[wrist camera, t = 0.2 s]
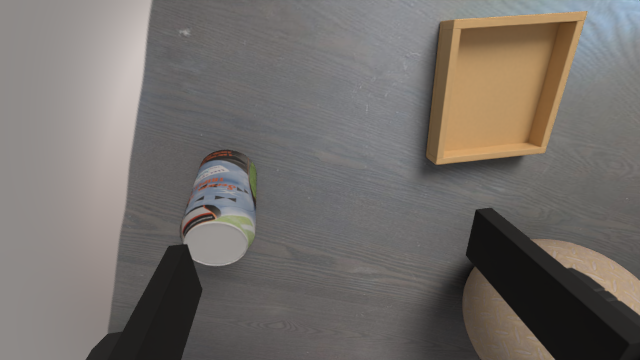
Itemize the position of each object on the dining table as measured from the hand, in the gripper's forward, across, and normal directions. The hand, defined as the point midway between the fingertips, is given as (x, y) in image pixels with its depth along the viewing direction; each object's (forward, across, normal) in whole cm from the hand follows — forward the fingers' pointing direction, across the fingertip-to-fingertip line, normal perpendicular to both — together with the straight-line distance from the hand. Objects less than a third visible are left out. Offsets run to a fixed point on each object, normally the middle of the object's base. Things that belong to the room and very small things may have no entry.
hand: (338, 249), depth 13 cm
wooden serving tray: (+21, +21, +2) cm, 30 cm away
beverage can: (+21, -9, -5) cm, 23 cm away
